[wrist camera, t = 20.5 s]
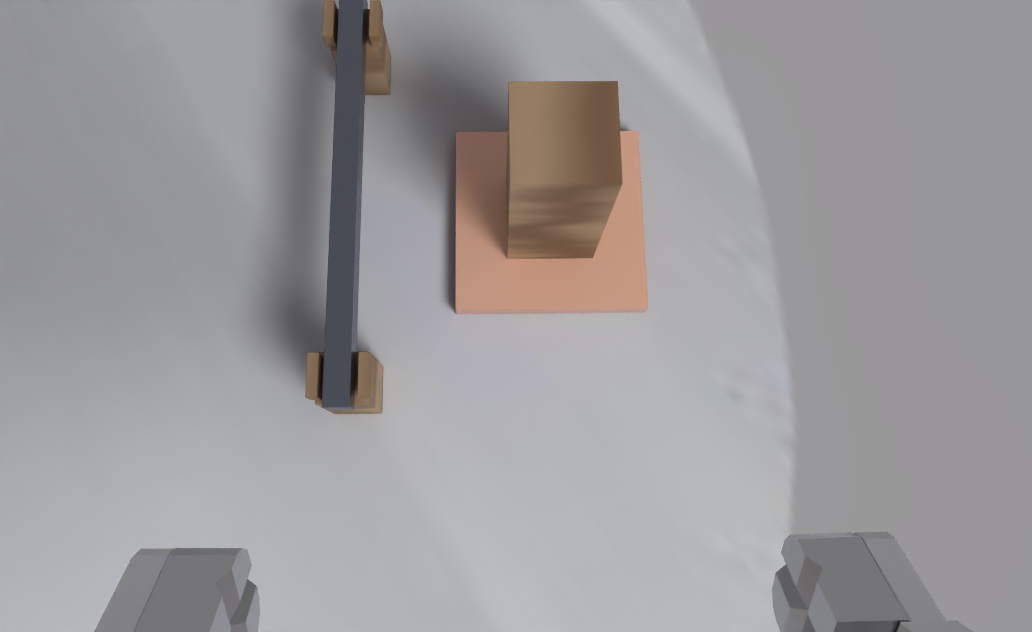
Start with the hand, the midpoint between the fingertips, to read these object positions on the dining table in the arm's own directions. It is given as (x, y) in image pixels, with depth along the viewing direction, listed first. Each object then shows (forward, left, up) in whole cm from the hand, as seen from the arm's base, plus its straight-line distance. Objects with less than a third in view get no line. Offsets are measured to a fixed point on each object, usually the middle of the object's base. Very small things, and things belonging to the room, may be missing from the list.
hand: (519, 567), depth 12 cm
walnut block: (+3, +15, -26) cm, 31 cm away
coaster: (+3, +15, -27) cm, 31 cm away
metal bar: (-7, +15, -23) cm, 29 cm away
